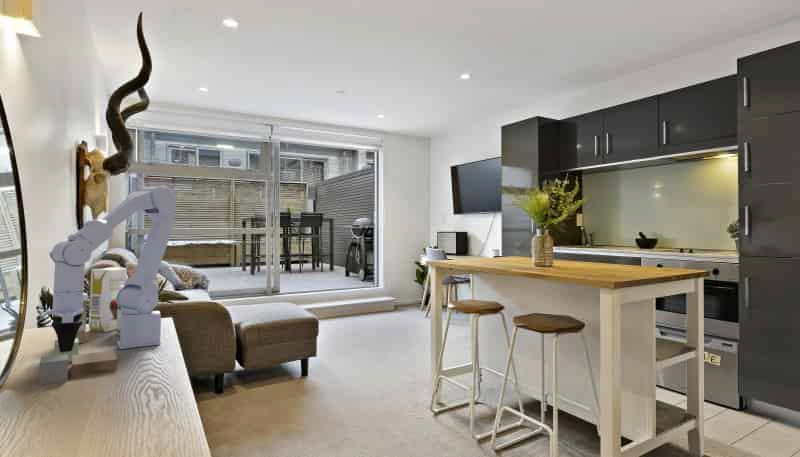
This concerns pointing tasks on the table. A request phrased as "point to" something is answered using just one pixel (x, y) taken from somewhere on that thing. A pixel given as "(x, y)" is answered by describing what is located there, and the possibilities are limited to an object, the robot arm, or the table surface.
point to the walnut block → (93, 363)
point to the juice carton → (105, 298)
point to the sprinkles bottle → (81, 331)
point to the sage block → (73, 352)
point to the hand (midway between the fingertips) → (66, 347)
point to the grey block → (53, 369)
